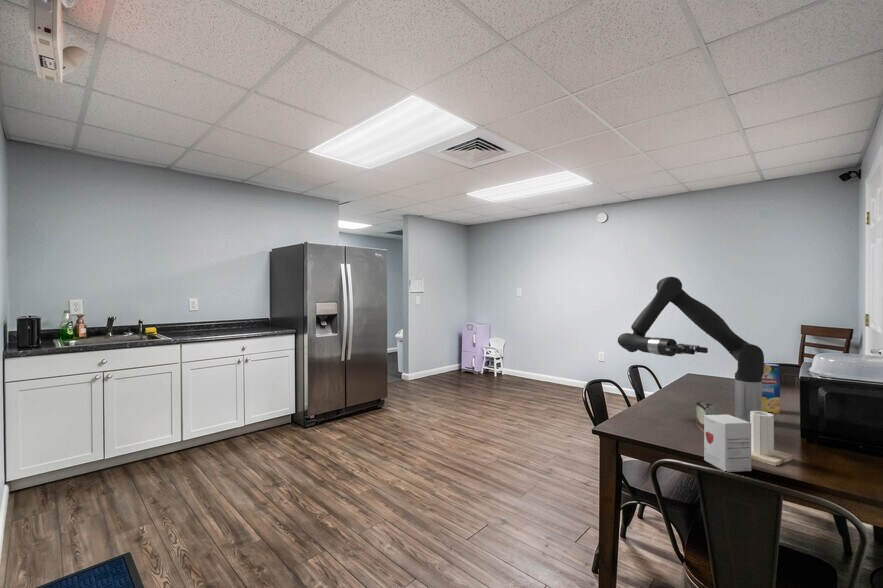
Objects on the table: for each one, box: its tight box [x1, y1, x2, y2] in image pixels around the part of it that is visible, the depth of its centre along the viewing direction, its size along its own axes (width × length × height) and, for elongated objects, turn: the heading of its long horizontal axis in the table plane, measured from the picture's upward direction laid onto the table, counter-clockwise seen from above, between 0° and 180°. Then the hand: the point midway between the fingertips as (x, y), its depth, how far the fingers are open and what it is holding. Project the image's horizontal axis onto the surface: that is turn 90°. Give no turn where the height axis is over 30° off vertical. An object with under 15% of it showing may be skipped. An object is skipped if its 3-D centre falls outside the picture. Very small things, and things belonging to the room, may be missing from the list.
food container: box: [695, 400, 720, 432], centre depth 157 cm, size 12×6×10 cm, turn 164°
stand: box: [751, 449, 794, 467], centre depth 131 cm, size 12×12×10 cm
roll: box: [750, 411, 775, 456], centre depth 131 cm, size 6×6×13 cm
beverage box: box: [762, 362, 781, 414], centre depth 184 cm, size 7×11×22 cm, turn 71°
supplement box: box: [703, 414, 752, 473], centre depth 124 cm, size 9×9×15 cm
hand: (700, 351), depth 155 cm, fingers open, 8 cm apart
